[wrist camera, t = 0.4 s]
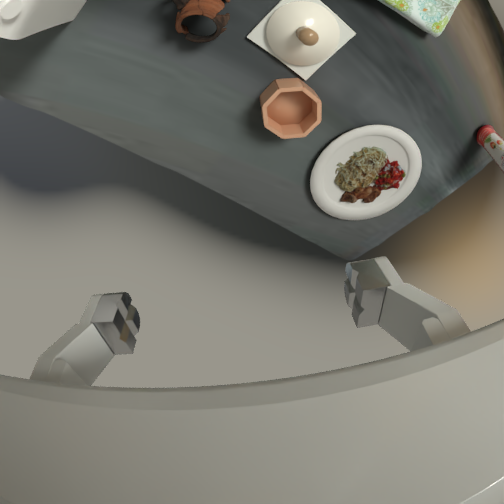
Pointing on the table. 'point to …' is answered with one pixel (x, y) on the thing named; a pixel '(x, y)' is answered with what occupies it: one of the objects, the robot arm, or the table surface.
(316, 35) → the lid
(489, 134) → the liquor
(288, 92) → the bowl
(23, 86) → the table surface
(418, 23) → the towel
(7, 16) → the milk
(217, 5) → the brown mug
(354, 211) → the plated food
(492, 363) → the robot arm
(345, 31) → the mat
